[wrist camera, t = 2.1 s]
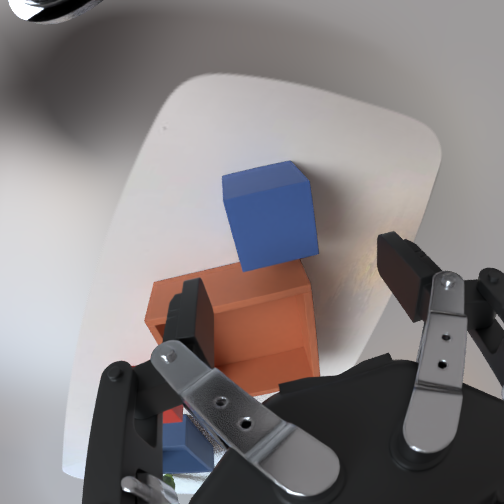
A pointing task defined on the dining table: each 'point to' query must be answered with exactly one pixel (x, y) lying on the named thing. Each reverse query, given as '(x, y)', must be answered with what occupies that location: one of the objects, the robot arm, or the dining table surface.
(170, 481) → the vegetable
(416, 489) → the robot arm
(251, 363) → the terracotta bin
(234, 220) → the blue block
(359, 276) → the dining table surface
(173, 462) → the blue bin
